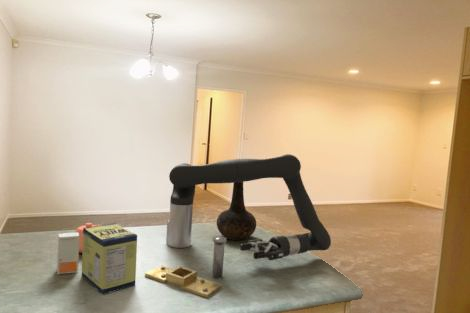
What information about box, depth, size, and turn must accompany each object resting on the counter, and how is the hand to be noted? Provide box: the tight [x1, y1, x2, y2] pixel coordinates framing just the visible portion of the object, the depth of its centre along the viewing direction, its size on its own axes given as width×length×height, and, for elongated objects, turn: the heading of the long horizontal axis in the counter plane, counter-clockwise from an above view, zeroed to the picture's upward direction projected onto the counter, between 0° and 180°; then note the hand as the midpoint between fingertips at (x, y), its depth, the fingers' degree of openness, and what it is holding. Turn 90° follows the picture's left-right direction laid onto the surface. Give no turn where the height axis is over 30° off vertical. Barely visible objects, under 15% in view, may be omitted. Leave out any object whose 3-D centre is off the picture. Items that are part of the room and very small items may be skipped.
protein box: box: [81, 222, 138, 295], centre depth 106 cm, size 10×16×16 cm
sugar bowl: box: [74, 222, 101, 254], centre depth 131 cm, size 12×14×10 cm
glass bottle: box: [216, 182, 257, 241], centre depth 157 cm, size 18×18×28 cm
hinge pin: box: [211, 235, 227, 280], centre depth 115 cm, size 4×4×13 cm
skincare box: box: [56, 232, 80, 275], centre depth 111 cm, size 6×4×12 cm
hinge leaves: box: [144, 265, 223, 299], centre depth 109 cm, size 24×8×3 cm, turn 61°
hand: (247, 251), depth 120 cm, fingers open, 8 cm apart
